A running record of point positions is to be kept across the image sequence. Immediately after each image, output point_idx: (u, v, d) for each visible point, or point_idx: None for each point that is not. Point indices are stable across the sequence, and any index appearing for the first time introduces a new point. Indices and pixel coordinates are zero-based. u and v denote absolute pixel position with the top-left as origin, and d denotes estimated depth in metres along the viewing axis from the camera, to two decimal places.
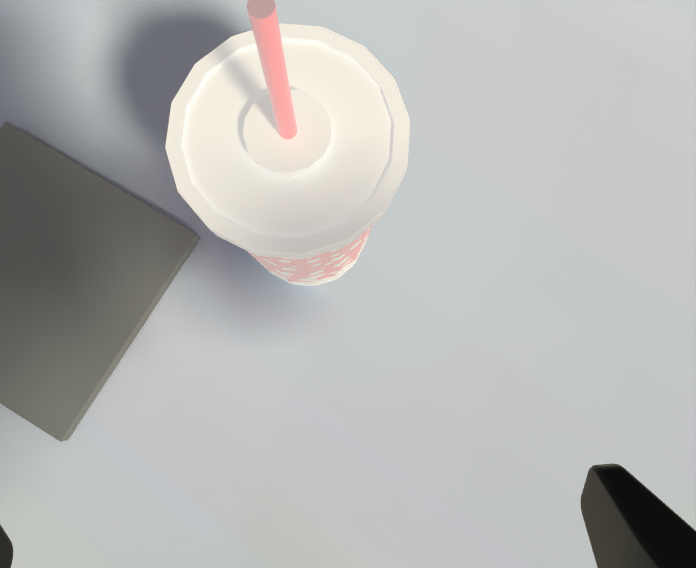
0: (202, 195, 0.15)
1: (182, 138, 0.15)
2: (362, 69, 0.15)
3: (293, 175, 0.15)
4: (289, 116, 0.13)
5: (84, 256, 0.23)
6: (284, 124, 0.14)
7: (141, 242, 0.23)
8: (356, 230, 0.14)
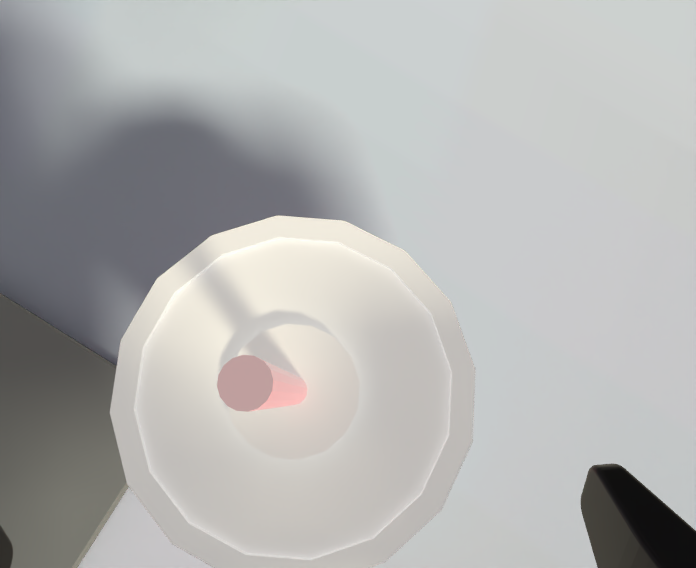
0: (163, 489, 0.10)
1: (136, 395, 0.10)
2: (403, 285, 0.10)
3: (302, 457, 0.10)
4: (296, 401, 0.09)
5: (31, 436, 0.18)
6: None
7: (104, 417, 0.18)
8: (397, 546, 0.09)
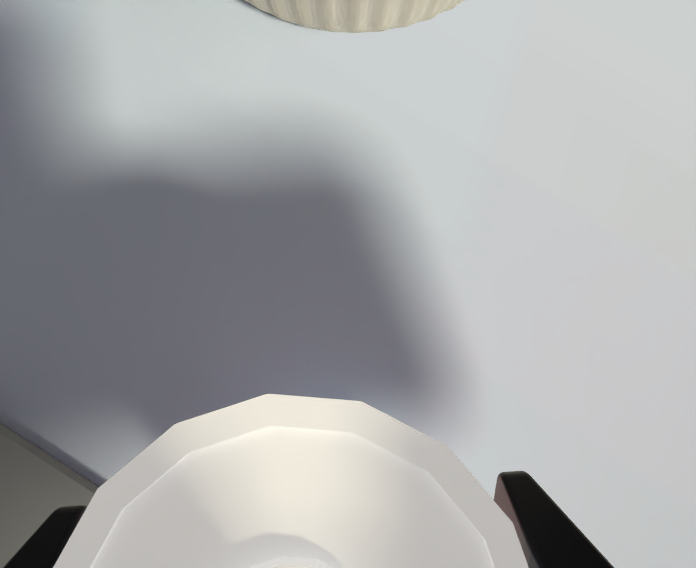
0: None
1: None
2: (444, 495, 0.07)
3: None
4: None
5: None
6: None
7: None
8: None
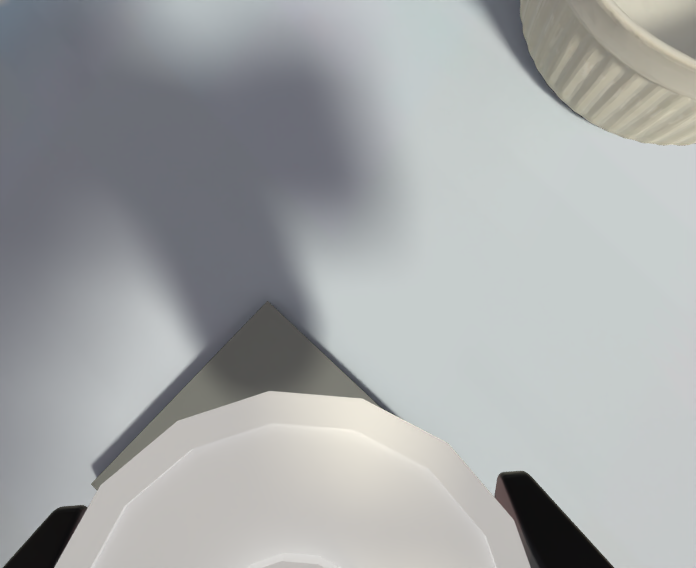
0: None
1: None
2: (445, 492, 0.07)
3: None
4: None
5: None
6: None
7: None
8: None
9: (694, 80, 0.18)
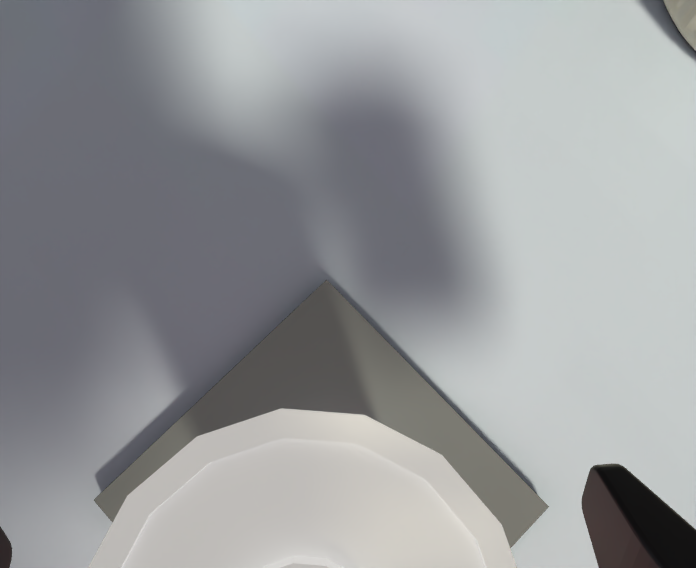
0: None
1: None
2: (439, 500, 0.08)
3: None
4: None
5: None
6: None
7: None
8: None
9: None
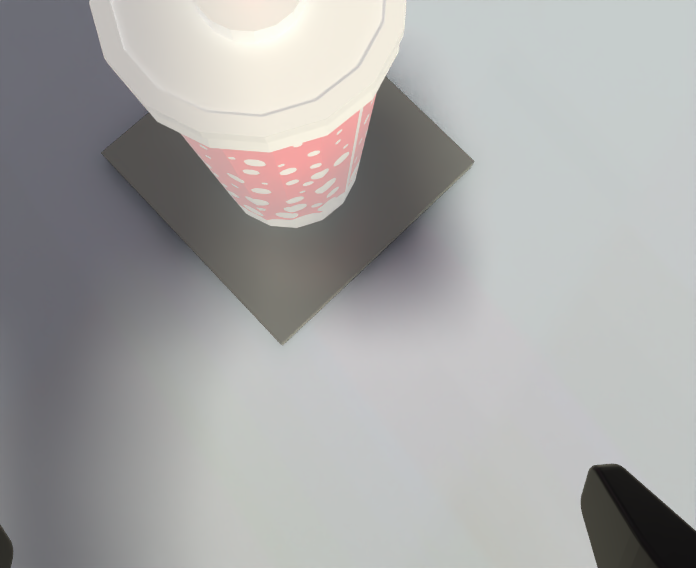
0: (136, 63, 0.11)
1: None
2: None
3: (257, 38, 0.11)
4: None
5: None
6: None
7: (412, 154, 0.20)
8: (337, 108, 0.11)
9: None
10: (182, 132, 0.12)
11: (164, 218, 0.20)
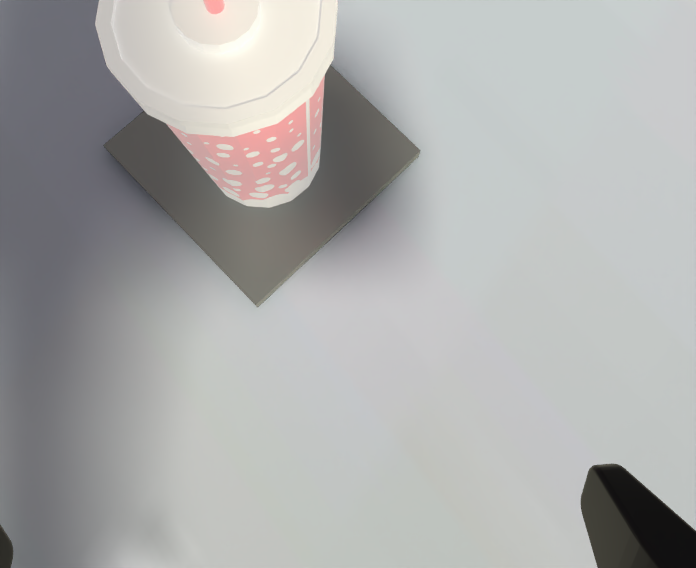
0: (130, 70, 0.15)
1: (112, 16, 0.15)
2: None
3: (221, 50, 0.15)
4: None
5: None
6: None
7: (368, 145, 0.24)
8: (282, 102, 0.15)
9: None
10: (166, 122, 0.15)
11: (157, 200, 0.23)
